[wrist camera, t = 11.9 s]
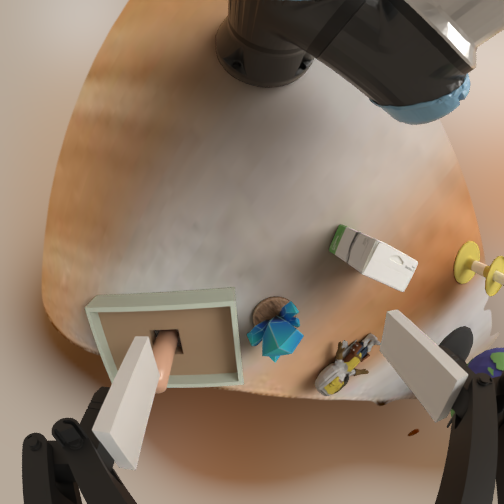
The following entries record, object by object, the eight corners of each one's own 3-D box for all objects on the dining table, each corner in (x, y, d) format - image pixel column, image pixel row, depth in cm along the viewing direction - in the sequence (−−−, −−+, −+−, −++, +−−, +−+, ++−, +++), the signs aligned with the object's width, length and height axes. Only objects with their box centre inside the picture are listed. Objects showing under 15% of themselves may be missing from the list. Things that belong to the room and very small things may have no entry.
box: (96, 295, 41) (84, 307, 36) (234, 287, 43) (235, 300, 38) (120, 369, 45) (112, 385, 41) (242, 366, 47) (243, 384, 42)
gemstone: (239, 316, 44) (244, 360, 33) (282, 285, 44) (301, 322, 32) (265, 344, 46) (276, 390, 35) (306, 316, 46) (328, 356, 34)
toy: (393, 358, 46) (339, 409, 46) (379, 346, 52) (328, 395, 51) (369, 326, 43) (306, 385, 43) (354, 314, 48) (296, 369, 48)
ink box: (326, 250, 43) (359, 275, 32) (339, 222, 42) (376, 238, 30) (367, 268, 44) (405, 295, 33) (379, 242, 43) (420, 262, 32)
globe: (484, 307, 52) (558, 358, 23) (465, 370, 57) (520, 425, 29) (428, 333, 50) (512, 410, 22) (411, 398, 56) (465, 472, 28)
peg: (157, 326, 44) (137, 373, 31) (177, 325, 44) (163, 374, 31) (161, 343, 45) (145, 392, 32) (180, 342, 45) (169, 393, 32)
